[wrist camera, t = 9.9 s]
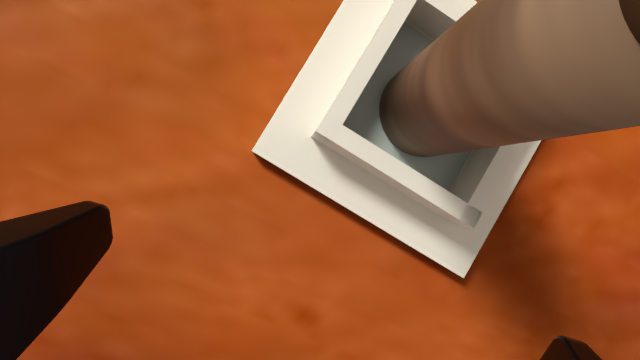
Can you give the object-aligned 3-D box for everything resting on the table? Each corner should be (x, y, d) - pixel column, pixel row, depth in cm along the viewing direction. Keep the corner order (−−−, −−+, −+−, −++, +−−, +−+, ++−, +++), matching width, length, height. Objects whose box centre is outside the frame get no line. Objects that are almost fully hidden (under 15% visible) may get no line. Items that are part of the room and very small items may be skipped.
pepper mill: (450, 169, 18) (1547, 111, 2) (366, 138, 18) (1051, -175, 2) (478, 85, 19) (1686, -479, 3) (396, 52, 18) (1253, -870, 2)
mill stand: (456, 274, 19) (488, 291, 16) (252, 152, 18) (248, 147, 15) (567, 77, 20) (617, 59, 17) (378, -54, 19) (397, -97, 16)
